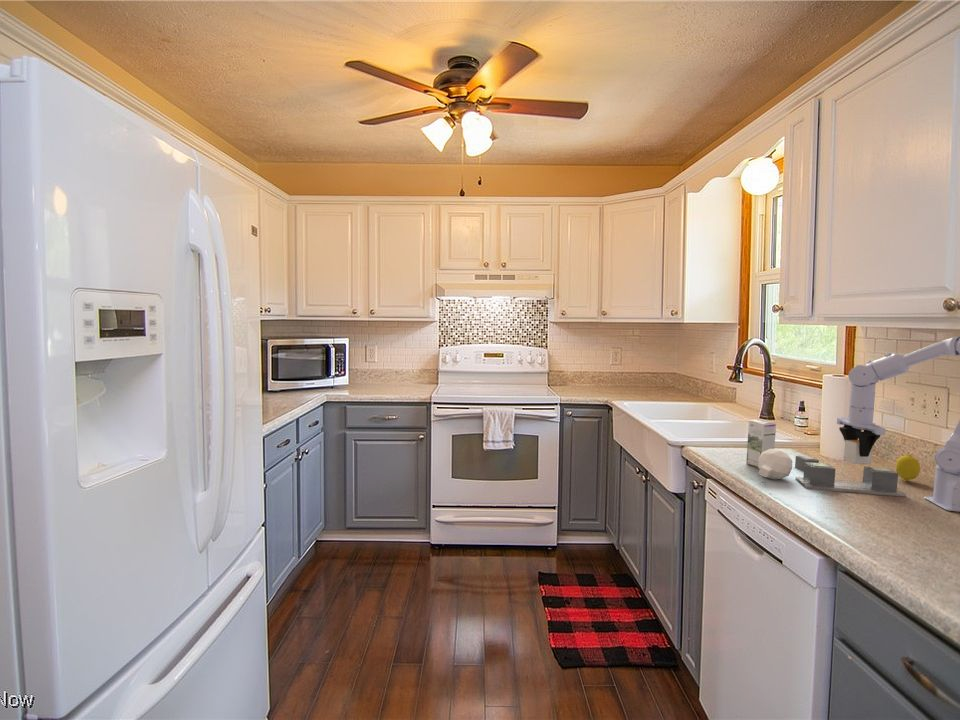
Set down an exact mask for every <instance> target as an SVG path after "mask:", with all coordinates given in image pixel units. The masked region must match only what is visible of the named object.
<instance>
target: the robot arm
mask: <svg viewBox="0 0 960 720" xmlns="http://www.w3.org/2000/svg"><path fill="white" fill-rule="evenodd" d="M943 356H960V336H954V337H951V338H946V339H944V340H940V341H938V342H935V343H932V344H930V345H927V346H924V347H923V348H920V349H917V350H915V351H912V352H909V353H906V354H902V353H898V352H896V353H892V352H888V353H886V354H884V356H883V357H881V358H878V359H875V360H873V361H872V360H867V361H866V362H865V363H866V365H865V364H864V365H863V364H858V365H855V366H854V367H853V368H851V369H850V370H849V372H848V380H849V382H850V383H851V385H850V391H849V392H850V394H849V404H848V405H849V407H848V418H847V417H837V419H836V420H837V421H836V424H837V425H842V426H840V427H839V432H840V433H841V435H842V437H843V441H845V440H859V445H860V446H859V453H860V456H861V457H868V456H869V454H870V451H871V449H872V450H873V446H874V445H875V443H876V442H877V440H878V439H879V438H880V437H881V436H885V433H886V427H883V426H880V425H878V424H876V423H875V422H874V411H875V399H876V385H877V383H878V382H879V381H880V382H883V381H885V380H887V379H890V378H891V379H892V378H894V377H897V376H900V375H903V374H906V373H908V372H909V369H910V368H911V366H914V365H917V364H920V363H923V362H927V361H930V360H933V359H937V358H940V357H943ZM934 462H935V464H936V465H935V471H934V472H935V473H934V481H933V482H934V484H933V493H932V496H924V499H925V500H928V501H930V502H931V503H932V504H934V505H936V506H938V507H940V508H942V509H944V510H945V511H949V512H950V511H951V512H959V513H960V419H959V420H958V422H957V424H956V426H955V428H954V430H953V432H952V434H951V435H950V437H949V438H948V439H947V441H946V443H945V445H943V446H942V447H941V448H939V449H938V450H937V451H936V452H935V454H934Z"/></svg>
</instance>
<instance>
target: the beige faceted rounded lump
mask: <svg viewBox="0 0 960 720" xmlns="http://www.w3.org/2000/svg"><path fill="white" fill-rule="evenodd" d="M757 468H758V469H759V470H758V474H759V475H760V476H762V477H765V478H768V479H770V480H781V479H783V478H787V477H788V476H790V474H791V472H792V470H793V459H792V458H791V457H790V454H788V453H787V452H785V451H784V450H781V449H779V448H775V449H768V450H766V451H764V452H762V453H761V455H760V457H759V459H758V467H757Z"/></svg>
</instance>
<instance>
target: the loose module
mask: <svg viewBox="0 0 960 720" xmlns="http://www.w3.org/2000/svg"><path fill="white" fill-rule="evenodd" d="M859 446H860V445H859V439H858V440H844V451H843V453H844V454H843V461H844V462H847V463H849V464H853V465H872V457H873V448H872V449H871V451H870V454H869V456H868V457H861V456H860V453H859Z"/></svg>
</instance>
